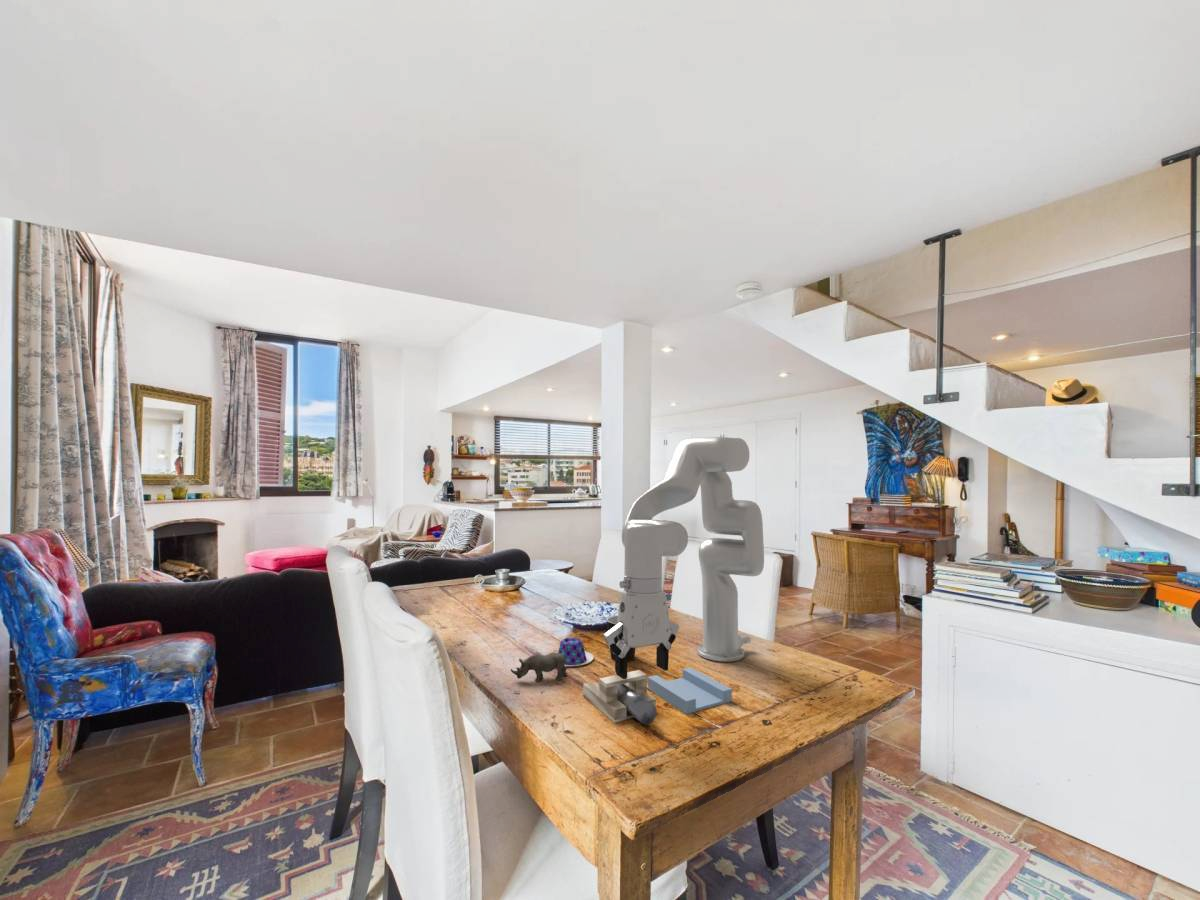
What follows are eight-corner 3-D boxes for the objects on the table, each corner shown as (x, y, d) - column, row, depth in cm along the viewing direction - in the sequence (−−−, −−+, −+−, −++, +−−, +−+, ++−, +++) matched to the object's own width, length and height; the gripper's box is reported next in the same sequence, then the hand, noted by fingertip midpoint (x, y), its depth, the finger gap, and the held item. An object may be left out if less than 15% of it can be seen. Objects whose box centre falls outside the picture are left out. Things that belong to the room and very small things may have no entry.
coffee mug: (636, 664, 130) (636, 625, 130) (604, 661, 131) (604, 623, 132) (641, 649, 141) (641, 613, 142) (611, 647, 143) (611, 611, 143)
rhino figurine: (509, 678, 121) (510, 653, 121) (565, 673, 124) (565, 648, 124) (511, 685, 117) (511, 659, 117) (568, 679, 120) (569, 654, 120)
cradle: (690, 678, 121) (690, 667, 121) (731, 701, 109) (731, 688, 109) (648, 688, 115) (647, 677, 115) (686, 714, 103) (686, 701, 103)
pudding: (544, 655, 137) (544, 636, 137) (585, 650, 141) (585, 631, 141) (554, 671, 126) (554, 650, 126) (599, 665, 130) (599, 645, 130)
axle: (607, 700, 108) (606, 682, 108) (623, 695, 110) (622, 677, 110) (639, 727, 96) (638, 706, 96) (656, 721, 98) (655, 700, 98)
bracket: (621, 686, 116) (621, 658, 116) (656, 711, 104) (656, 680, 104) (583, 695, 111) (583, 666, 112) (614, 722, 99) (614, 690, 99)
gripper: (615, 592, 93) (614, 687, 92) (688, 584, 101) (688, 671, 100) (596, 585, 99) (595, 673, 98) (666, 578, 108) (666, 659, 106)
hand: (642, 672), depth 99 cm, fingers open, 9 cm apart
